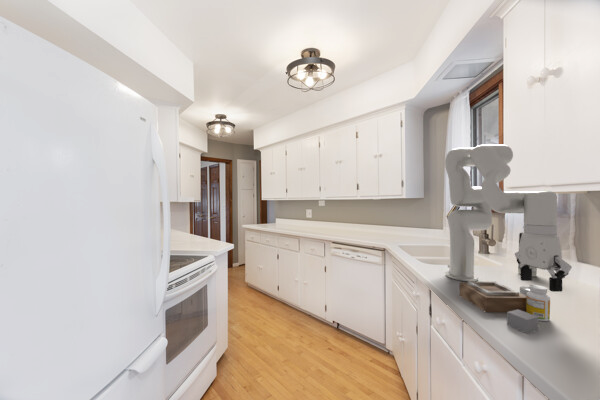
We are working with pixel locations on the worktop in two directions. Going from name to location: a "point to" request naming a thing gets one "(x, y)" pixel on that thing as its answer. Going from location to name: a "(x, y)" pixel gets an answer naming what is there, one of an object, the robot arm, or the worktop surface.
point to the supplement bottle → (538, 302)
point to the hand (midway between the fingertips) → (540, 285)
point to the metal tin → (524, 290)
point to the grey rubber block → (522, 321)
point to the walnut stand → (492, 297)
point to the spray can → (534, 270)
